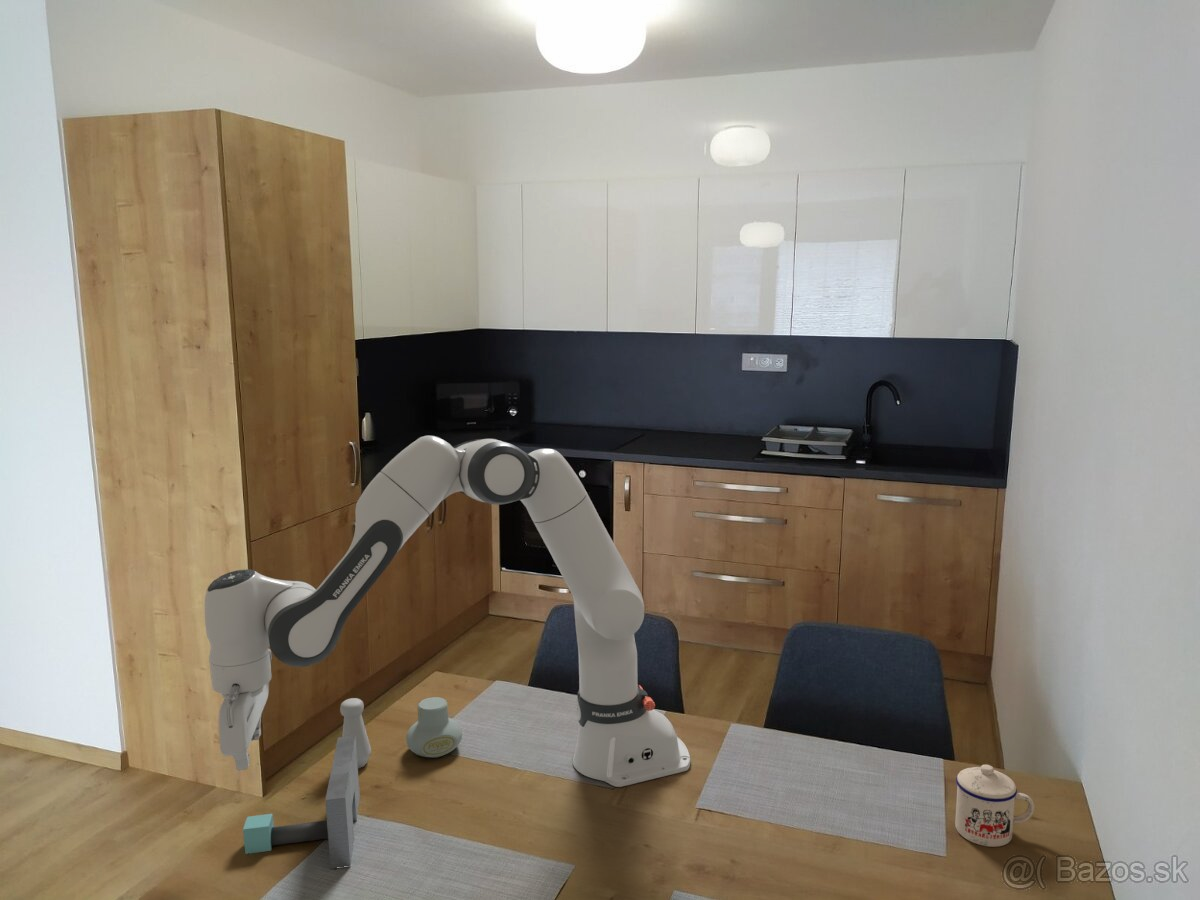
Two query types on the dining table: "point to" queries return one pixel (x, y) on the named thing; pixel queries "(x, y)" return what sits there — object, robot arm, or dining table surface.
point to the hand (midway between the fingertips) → (249, 752)
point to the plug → (278, 833)
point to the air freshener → (433, 729)
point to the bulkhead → (342, 802)
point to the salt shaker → (356, 728)
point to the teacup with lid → (987, 806)
